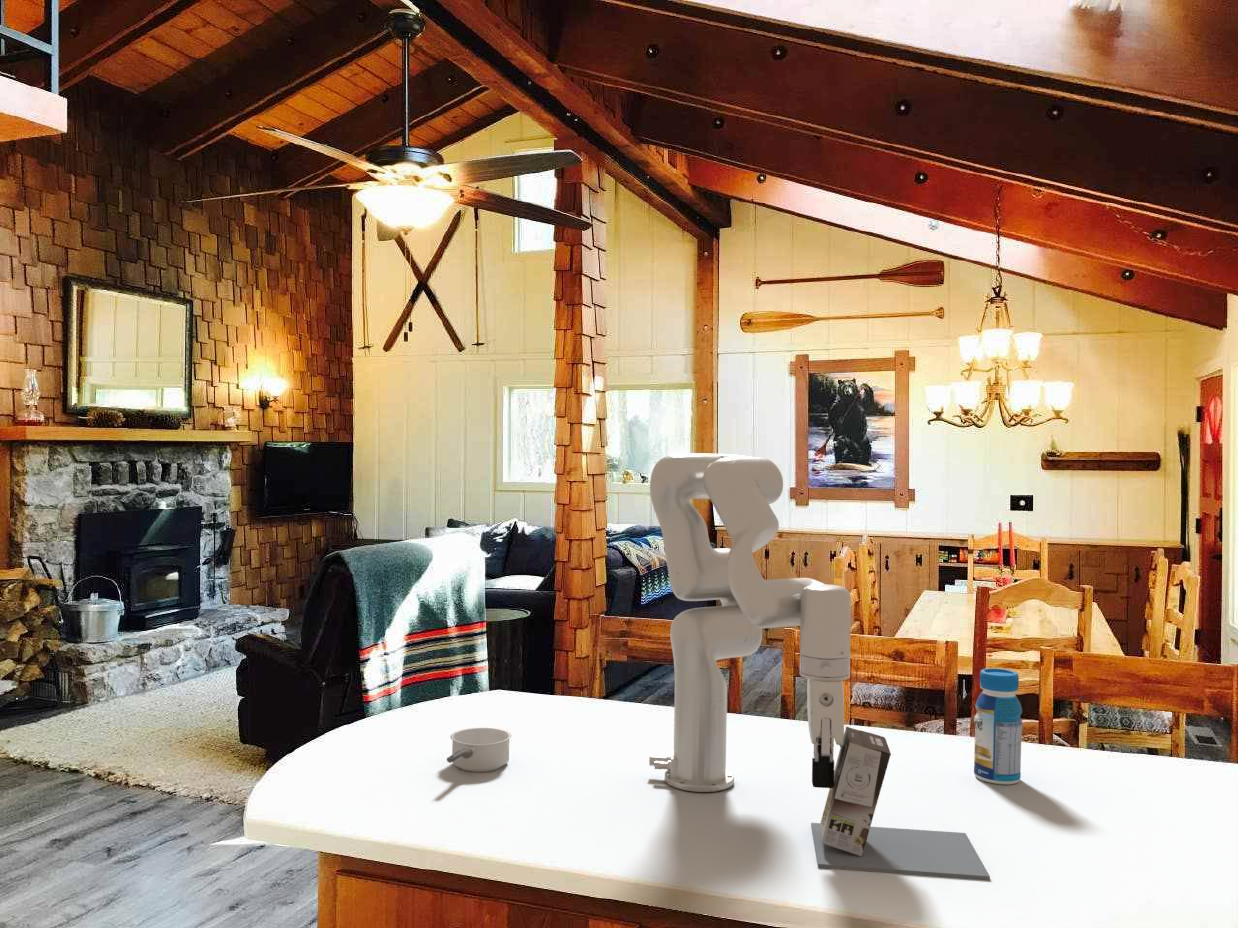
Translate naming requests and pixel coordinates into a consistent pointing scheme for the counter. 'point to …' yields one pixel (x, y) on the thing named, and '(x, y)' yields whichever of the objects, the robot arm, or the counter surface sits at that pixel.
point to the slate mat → (906, 853)
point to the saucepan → (480, 749)
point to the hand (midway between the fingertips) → (822, 785)
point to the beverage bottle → (998, 728)
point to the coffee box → (854, 790)
